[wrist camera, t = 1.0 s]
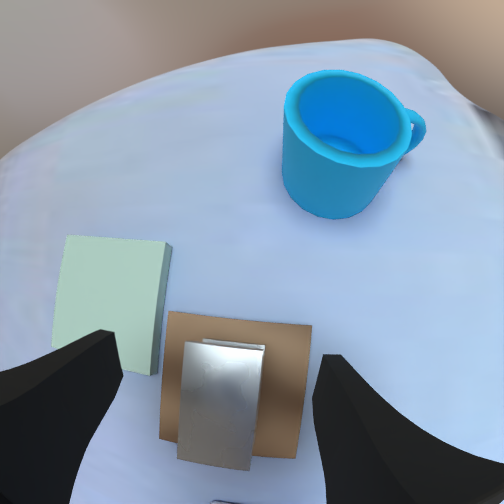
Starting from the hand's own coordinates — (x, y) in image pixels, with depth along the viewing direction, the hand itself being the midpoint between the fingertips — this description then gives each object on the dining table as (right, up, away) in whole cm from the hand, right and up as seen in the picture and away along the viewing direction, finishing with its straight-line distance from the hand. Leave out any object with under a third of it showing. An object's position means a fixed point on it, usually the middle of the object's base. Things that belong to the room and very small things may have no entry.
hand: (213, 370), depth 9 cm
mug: (+10, +11, +14) cm, 21 cm away
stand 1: (-10, 0, +13) cm, 17 cm away
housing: (0, -5, +9) cm, 11 cm away
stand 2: (0, -6, +11) cm, 12 cm away
